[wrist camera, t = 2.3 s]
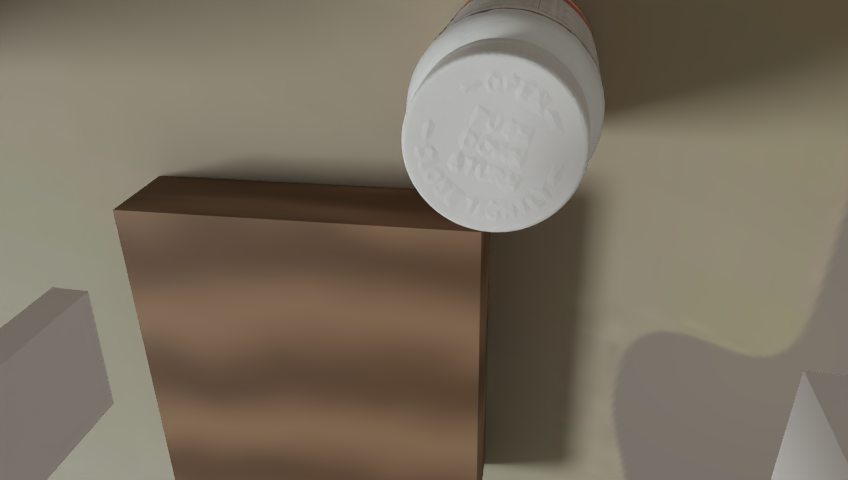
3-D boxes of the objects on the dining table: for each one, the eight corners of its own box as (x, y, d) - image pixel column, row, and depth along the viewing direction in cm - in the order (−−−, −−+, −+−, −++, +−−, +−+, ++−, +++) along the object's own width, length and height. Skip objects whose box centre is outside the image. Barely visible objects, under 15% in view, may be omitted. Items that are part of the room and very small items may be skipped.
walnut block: (159, 176, 35) (113, 210, 31) (490, 193, 32) (481, 232, 29) (209, 433, 42) (176, 484, 38) (484, 464, 39) (475, 522, 36)
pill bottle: (522, 159, 31) (501, 291, 21) (413, 64, 30) (338, 156, 20) (629, 50, 28) (663, 144, 18) (514, -58, 27) (483, -21, 17)
